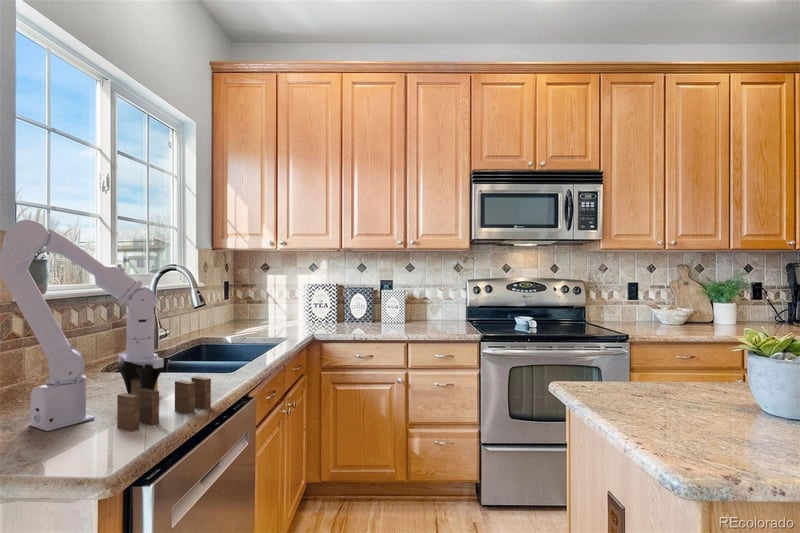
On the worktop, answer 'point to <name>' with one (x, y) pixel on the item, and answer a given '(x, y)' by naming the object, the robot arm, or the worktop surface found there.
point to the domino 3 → (148, 406)
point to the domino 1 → (128, 412)
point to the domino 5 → (202, 392)
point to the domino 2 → (135, 386)
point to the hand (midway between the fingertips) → (140, 395)
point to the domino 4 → (185, 397)
